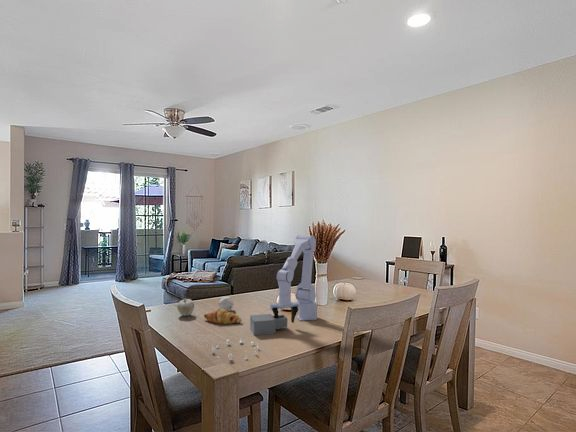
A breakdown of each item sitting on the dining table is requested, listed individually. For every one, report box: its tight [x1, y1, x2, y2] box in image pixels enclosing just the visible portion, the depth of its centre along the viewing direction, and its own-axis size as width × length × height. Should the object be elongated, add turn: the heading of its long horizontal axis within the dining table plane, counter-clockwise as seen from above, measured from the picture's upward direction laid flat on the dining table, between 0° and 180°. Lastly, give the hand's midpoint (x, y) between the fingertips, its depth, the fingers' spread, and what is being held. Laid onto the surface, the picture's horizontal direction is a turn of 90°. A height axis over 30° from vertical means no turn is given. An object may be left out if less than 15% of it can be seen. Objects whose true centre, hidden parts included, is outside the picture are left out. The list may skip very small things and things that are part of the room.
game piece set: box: [210, 337, 260, 362], centre depth 140 cm, size 19×20×4 cm
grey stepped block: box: [249, 313, 288, 336], centre depth 166 cm, size 16×10×6 cm, turn 106°
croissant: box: [203, 308, 243, 325], centre depth 179 cm, size 21×10×8 cm, turn 75°
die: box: [217, 296, 235, 312], centre depth 199 cm, size 8×9×10 cm
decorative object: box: [177, 297, 195, 317], centre depth 189 cm, size 9×9×10 cm
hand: (284, 322), depth 168 cm, fingers open, 7 cm apart
